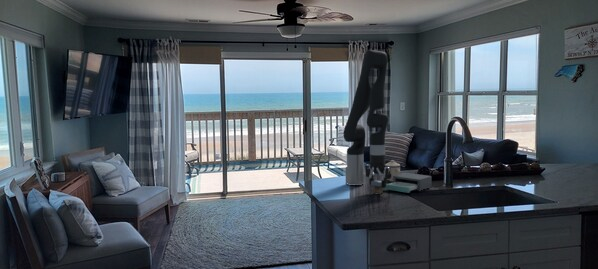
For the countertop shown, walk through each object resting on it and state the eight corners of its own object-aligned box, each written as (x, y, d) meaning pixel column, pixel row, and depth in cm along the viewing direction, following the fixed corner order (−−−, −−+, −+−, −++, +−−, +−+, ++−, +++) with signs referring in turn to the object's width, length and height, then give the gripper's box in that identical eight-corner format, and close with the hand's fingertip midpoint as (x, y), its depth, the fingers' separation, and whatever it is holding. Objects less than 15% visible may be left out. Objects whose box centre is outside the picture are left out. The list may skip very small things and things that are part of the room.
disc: (368, 185, 209) (368, 181, 208) (376, 183, 213) (376, 179, 213) (379, 187, 204) (379, 183, 204) (386, 185, 208) (386, 181, 208)
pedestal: (372, 193, 209) (372, 185, 209) (377, 192, 212) (377, 184, 211) (379, 194, 206) (379, 187, 206) (383, 193, 209) (383, 185, 209)
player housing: (392, 186, 224) (392, 175, 223) (404, 183, 232) (404, 172, 232) (420, 191, 212) (420, 179, 212) (431, 187, 221) (431, 176, 220)
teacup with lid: (381, 179, 245) (381, 159, 244) (395, 178, 248) (394, 158, 247) (392, 183, 233) (392, 162, 232) (406, 181, 236) (406, 161, 235)
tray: (382, 188, 216) (382, 183, 216) (395, 184, 224) (395, 180, 224) (408, 192, 205) (408, 187, 205) (420, 188, 214) (420, 183, 213)
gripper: (394, 154, 205) (394, 187, 206) (370, 151, 215) (370, 183, 216) (385, 155, 199) (385, 190, 201) (361, 153, 210) (361, 185, 211)
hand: (377, 186), depth 209 cm, fingers closed on disc, 6 cm apart
